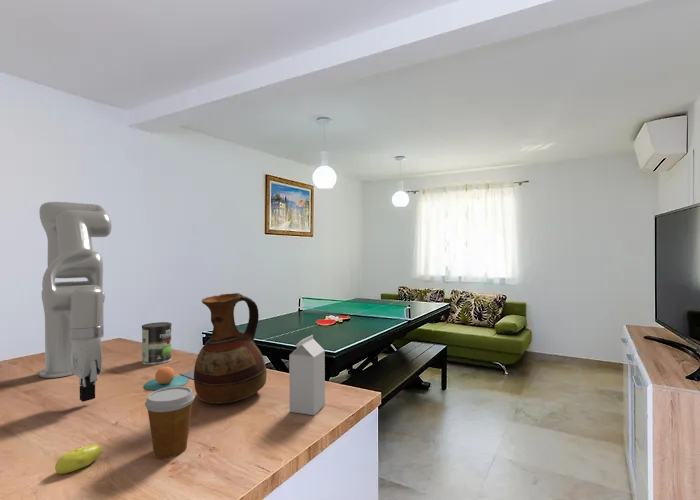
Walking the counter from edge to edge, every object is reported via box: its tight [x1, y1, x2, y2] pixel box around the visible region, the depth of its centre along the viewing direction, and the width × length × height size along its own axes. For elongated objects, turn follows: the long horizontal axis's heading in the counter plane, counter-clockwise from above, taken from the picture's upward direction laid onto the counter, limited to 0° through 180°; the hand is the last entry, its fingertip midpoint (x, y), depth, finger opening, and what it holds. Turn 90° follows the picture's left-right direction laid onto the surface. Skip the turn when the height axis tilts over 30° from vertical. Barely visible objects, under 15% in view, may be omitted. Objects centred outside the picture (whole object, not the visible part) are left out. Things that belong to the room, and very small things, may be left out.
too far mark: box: [179, 369, 194, 381], centre depth 132 cm, size 10×10×1 cm
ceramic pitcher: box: [193, 292, 267, 404], centre depth 112 cm, size 20×20×30 cm
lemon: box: [54, 443, 102, 475], centre depth 75 cm, size 4×8×4 cm, turn 145°
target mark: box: [143, 375, 190, 391], centre depth 123 cm, size 13×13×1 cm
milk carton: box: [288, 334, 326, 416], centre depth 102 cm, size 7×7×19 cm
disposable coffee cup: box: [144, 386, 195, 459], centre depth 81 cm, size 10×10×12 cm
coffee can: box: [141, 321, 172, 366], centre depth 148 cm, size 10×10×14 cm
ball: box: [154, 366, 176, 385], centre depth 122 cm, size 6×6×6 cm
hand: (87, 399), depth 106 cm, fingers closed
